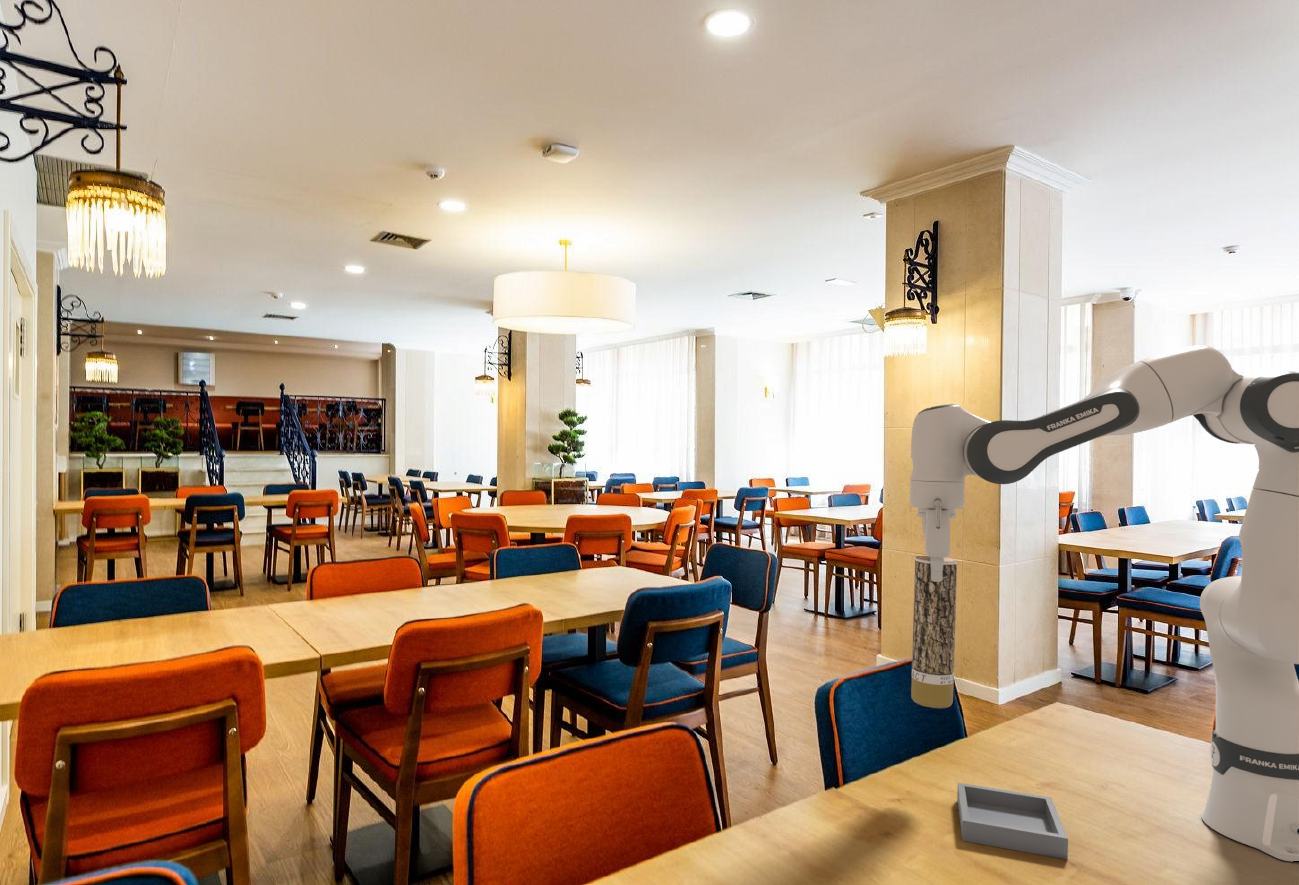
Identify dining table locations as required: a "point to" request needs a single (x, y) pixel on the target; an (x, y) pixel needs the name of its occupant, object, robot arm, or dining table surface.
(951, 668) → the paper tube
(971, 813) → the tray
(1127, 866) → the dining table surface
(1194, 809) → the dining table surface
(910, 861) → the dining table surface
